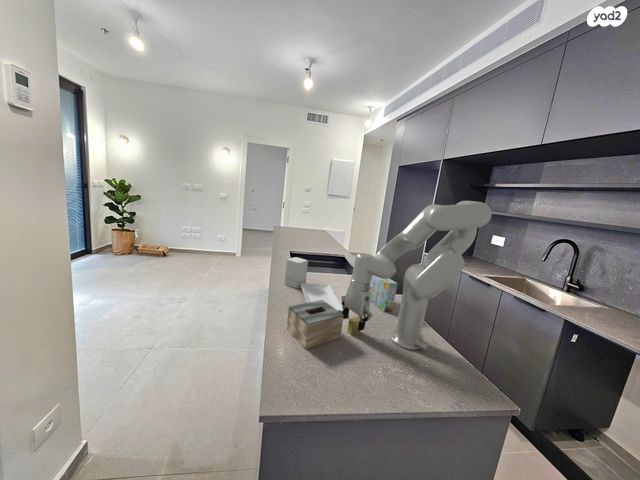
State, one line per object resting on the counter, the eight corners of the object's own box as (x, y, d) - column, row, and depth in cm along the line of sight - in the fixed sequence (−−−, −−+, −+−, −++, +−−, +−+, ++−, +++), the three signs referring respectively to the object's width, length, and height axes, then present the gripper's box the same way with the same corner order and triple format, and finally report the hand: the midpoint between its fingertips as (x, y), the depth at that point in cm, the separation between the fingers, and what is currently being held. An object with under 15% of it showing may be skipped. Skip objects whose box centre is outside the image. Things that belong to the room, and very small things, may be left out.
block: (359, 332, 109) (362, 319, 108) (350, 335, 106) (353, 321, 105) (356, 329, 111) (358, 316, 110) (347, 332, 108) (349, 319, 107)
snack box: (393, 311, 132) (398, 283, 129) (383, 312, 130) (388, 283, 127) (370, 294, 151) (374, 268, 148) (361, 294, 149) (365, 269, 146)
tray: (329, 289, 151) (329, 283, 151) (344, 317, 121) (345, 310, 121) (299, 288, 148) (300, 282, 147) (308, 316, 118) (309, 309, 117)
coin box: (340, 338, 103) (343, 314, 101) (305, 349, 94) (308, 323, 92) (319, 321, 114) (322, 299, 112) (286, 329, 105) (288, 306, 103)
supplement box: (306, 285, 153) (308, 260, 150) (296, 289, 146) (299, 263, 143) (293, 280, 158) (296, 256, 155) (283, 284, 150) (286, 259, 148)
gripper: (383, 292, 100) (374, 333, 103) (352, 275, 113) (345, 312, 117) (369, 294, 95) (360, 337, 99) (339, 277, 109) (332, 315, 112)
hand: (352, 323), depth 108 cm, fingers open, 9 cm apart
